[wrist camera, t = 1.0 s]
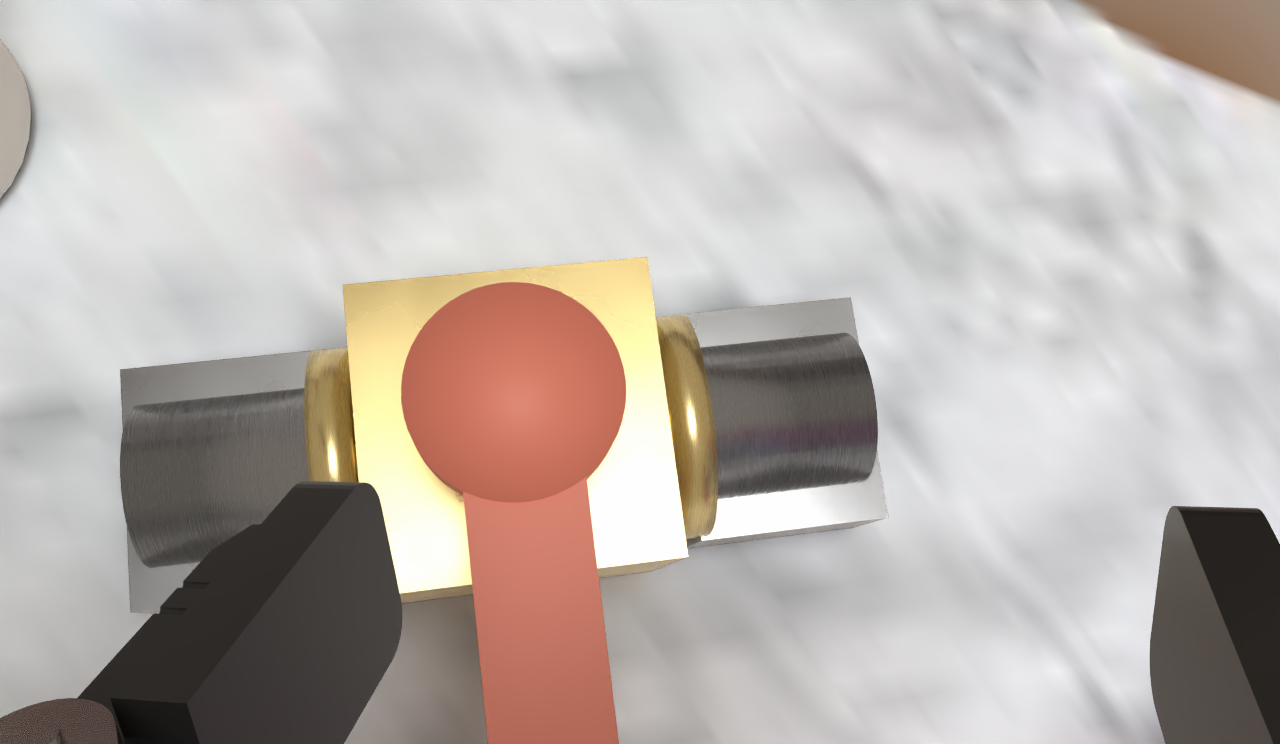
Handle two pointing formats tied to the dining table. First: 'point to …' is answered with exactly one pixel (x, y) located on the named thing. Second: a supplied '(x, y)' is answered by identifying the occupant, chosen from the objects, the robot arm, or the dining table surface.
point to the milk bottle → (12, 118)
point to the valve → (434, 513)
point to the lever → (525, 494)
